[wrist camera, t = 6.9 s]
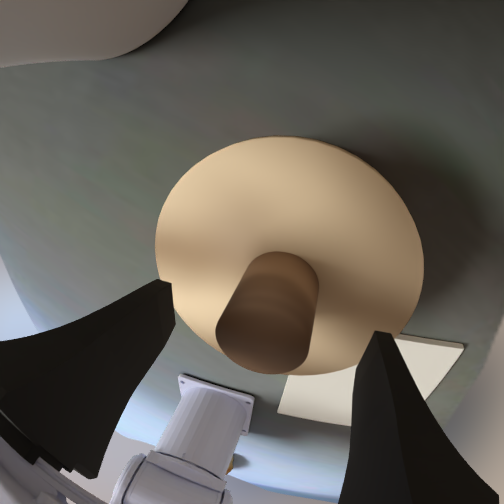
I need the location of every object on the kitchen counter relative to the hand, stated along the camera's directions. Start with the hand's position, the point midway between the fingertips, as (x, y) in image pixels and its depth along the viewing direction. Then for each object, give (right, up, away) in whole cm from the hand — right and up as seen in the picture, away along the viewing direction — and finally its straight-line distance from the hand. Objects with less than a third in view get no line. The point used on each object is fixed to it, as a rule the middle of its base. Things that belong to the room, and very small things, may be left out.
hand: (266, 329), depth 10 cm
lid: (+1, +2, +3) cm, 4 cm away
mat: (+9, -9, +12) cm, 18 cm away
